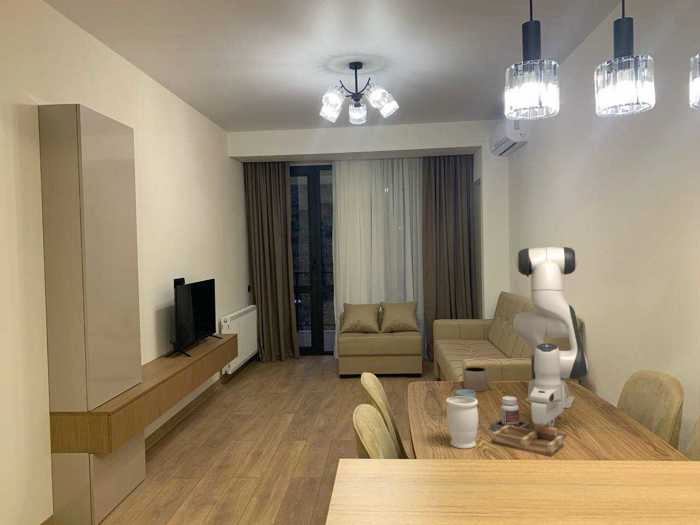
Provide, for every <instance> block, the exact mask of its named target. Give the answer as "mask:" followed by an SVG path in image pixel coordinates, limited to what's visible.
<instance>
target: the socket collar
mask: <svg viewBox="0 0 700 525" xmlns="http://www.w3.org/2000/svg"><path fill="white" fill-rule="evenodd" d="M502 427H504V426H502V418H500V419H498V420H496V421H494V422H492V423H490V431H494V432H496V431H497V430H499V429H501V428H502ZM519 427H520V428H525V429H530V430H531V422H529V421H524V420H519Z"/></svg>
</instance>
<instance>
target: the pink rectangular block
mask: <svg viewBox="0 0 700 525" xmlns="http://www.w3.org/2000/svg"><path fill="white" fill-rule="evenodd" d="M533 430H536V431H537V432H540V433H545V434H550V435H555V436H557V433H558V428H557V427H554V426H553V427H548V426H540V425H535V424H534V426H533Z"/></svg>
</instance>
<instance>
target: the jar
mask: <svg viewBox="0 0 700 525" xmlns="http://www.w3.org/2000/svg"><path fill="white" fill-rule="evenodd" d="M446 404H447V408H446V422H447V428H448V432H449V436H450V439H451V440H450V445H451V446H453V447H454V448H458V449H463V450H464V449H473V448H474V447H475V446H477V443H476V437H477V435H478V427H479V410H478V407H477V405H478V404H479V400H478V399H477V398H476V397H475V398H471V397H465V396H456V395H455V396H451V397H448V398H446Z"/></svg>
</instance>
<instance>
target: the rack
mask: <svg viewBox="0 0 700 525" xmlns="http://www.w3.org/2000/svg"><path fill="white" fill-rule="evenodd" d="M491 444H494V445H497V446H501V447H507V448H511V449H515V450H520V451H523V452H528V453H532V454H537V455H543V456H547V457H553V456H554V455H556V454H557V453H558V452H559V451H560V450H561V449H562V448H564V444H565V443H564V439H563V436H562V435H559V436H558V437H556V438H555V439H554V440H553V441H549V440H544V439H539V438H538V436H537V431H536V430H534V429H531V428H530V429H525V428H520V427H515V426H510V425H506V426H504V427H502V428H501V429H499V430H497V431H494V432H492V439H491Z"/></svg>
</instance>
